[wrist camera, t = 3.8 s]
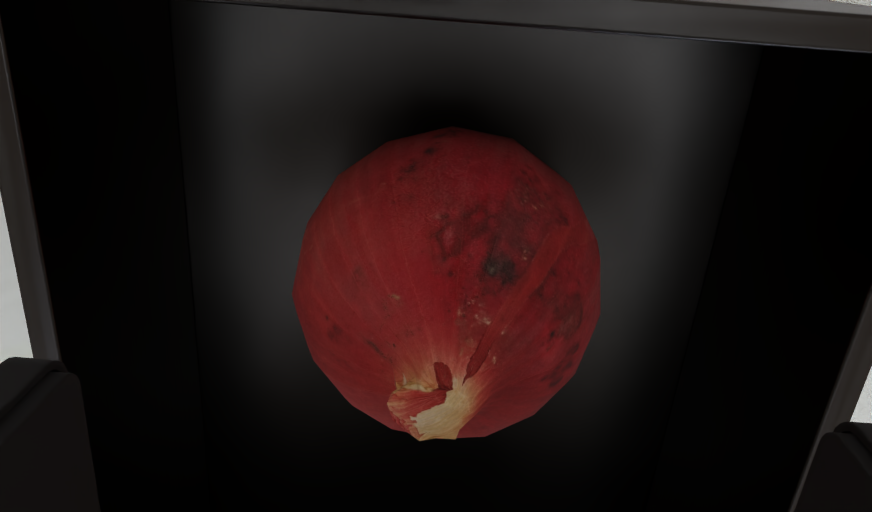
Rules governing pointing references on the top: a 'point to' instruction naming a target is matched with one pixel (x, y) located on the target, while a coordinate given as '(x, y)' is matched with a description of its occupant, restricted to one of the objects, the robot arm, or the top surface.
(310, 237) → the red round piece
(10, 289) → the top surface
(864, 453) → the robot arm
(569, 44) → the black shallow rectangular box
